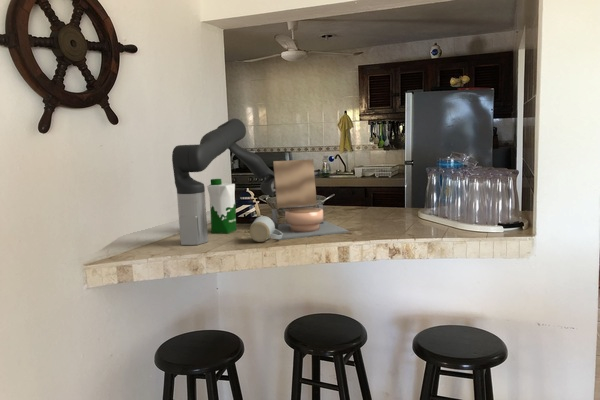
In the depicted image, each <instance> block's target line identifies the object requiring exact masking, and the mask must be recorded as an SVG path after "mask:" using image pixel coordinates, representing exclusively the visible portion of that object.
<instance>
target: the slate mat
mask: <svg viewBox="0 0 600 400" xmlns="http://www.w3.org/2000/svg"><path fill="white" fill-rule="evenodd" d="M319 225H320V229H319V230H317V231H312V232H293V231H291V230H290V224H288V223H286V222H285V223H278V228H277V229H276V230H278V231H280V232H282V234H283V235H282V238H281V239H278V241H283V240H291V239H292V240H293V239H300V238H309V237H311V238H312V237H317V236H319V237H320V236H327V235H337V234H345V233H346V234H347V233H349V231H350V230H348V229H346V228H343V227H342V226H338V225H336V224H334V223H332V222H329V221H327V220H324V219H323V224H319ZM273 234H274V233H273ZM275 235H277V234H275Z"/></svg>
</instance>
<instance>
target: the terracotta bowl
mask: <svg viewBox="0 0 600 400" xmlns="http://www.w3.org/2000/svg"><path fill="white" fill-rule="evenodd" d="M284 212H285V213H284V214H285V223H288V224H290V230H291V231H293V232H312V231H317V230H319V229H320V225H319V223H321V222H323V220H324V208H323V209H320V208H317V207H305V208H294V209H285V211H284Z"/></svg>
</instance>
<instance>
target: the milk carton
mask: <svg viewBox="0 0 600 400" xmlns="http://www.w3.org/2000/svg"><path fill="white" fill-rule="evenodd" d="M222 182H223V181H222V178H212V179H210V184H209V185H207V186H206V187H207V193H208V195H209V209H210V232H211V234H230V233H233V232H235V231H237V215H236V198H235V191H236V184H235V183H222Z"/></svg>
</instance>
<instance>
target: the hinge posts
mask: <svg viewBox="0 0 600 400" xmlns="http://www.w3.org/2000/svg"><path fill="white" fill-rule="evenodd" d="M316 208H320V209H323V210H324V205H323V204H317V205H316ZM271 220H272V221H273V222H274V225H275V229H277V228H278V224H279V223H278V209H277V207H276V208H271ZM319 224H323V222H321V223H319Z"/></svg>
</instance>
